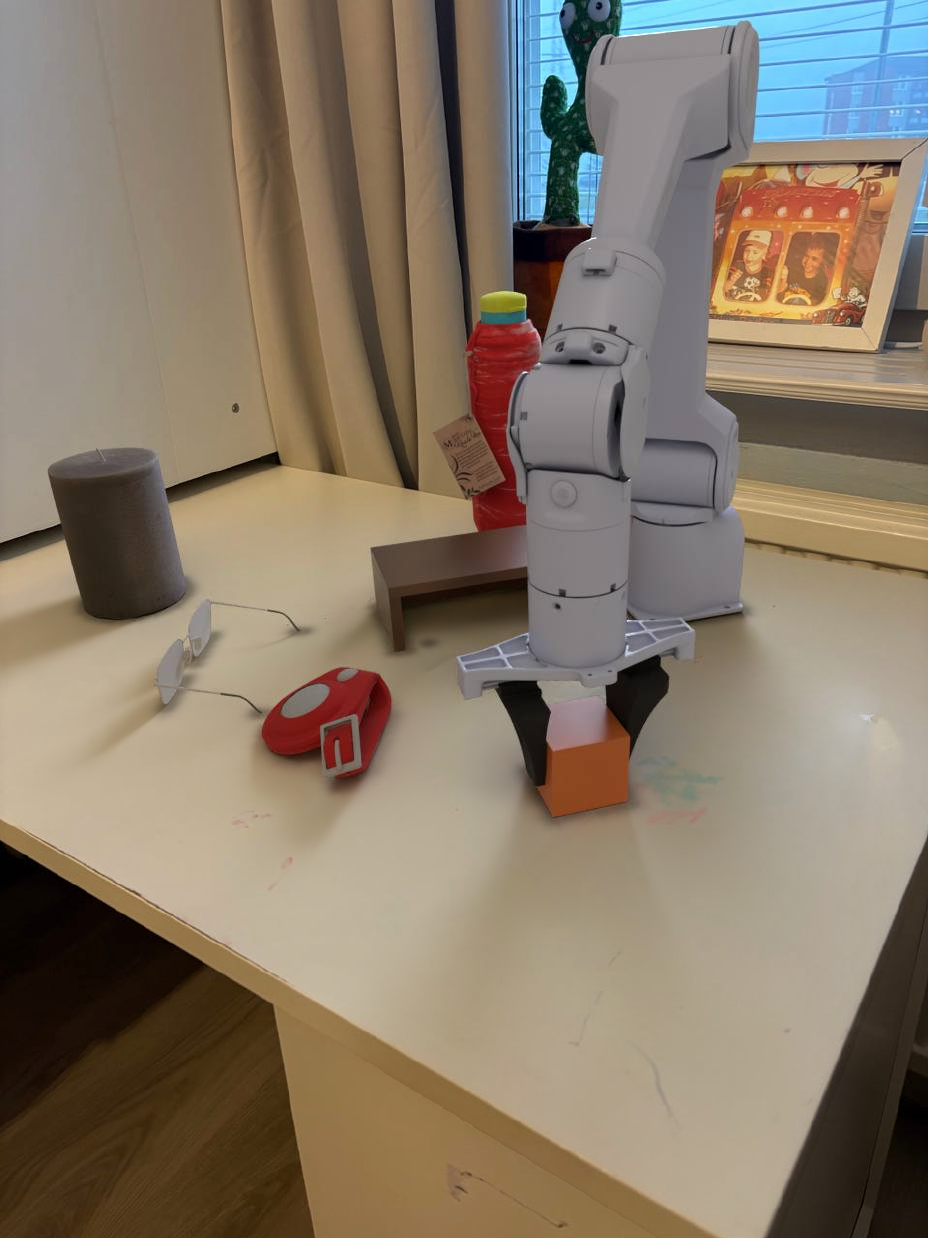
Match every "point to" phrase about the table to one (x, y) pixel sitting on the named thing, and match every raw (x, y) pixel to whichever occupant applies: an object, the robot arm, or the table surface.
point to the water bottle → (491, 410)
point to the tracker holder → (332, 720)
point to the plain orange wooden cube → (584, 757)
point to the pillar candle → (118, 531)
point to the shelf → (445, 571)
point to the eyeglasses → (174, 657)
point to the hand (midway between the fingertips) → (576, 768)
